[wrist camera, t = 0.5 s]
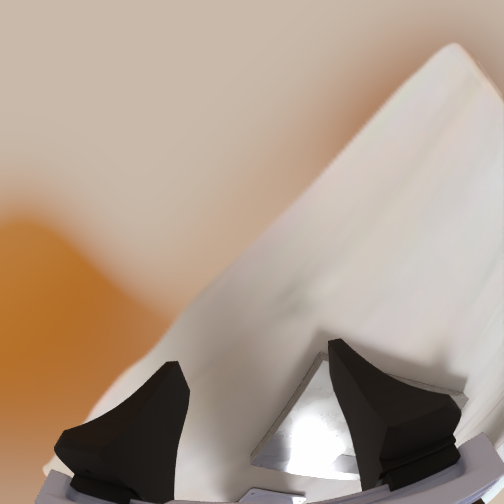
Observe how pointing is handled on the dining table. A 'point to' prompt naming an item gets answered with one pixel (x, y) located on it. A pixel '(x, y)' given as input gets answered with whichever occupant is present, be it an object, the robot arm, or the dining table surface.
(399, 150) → the dining table surface
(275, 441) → the panel
